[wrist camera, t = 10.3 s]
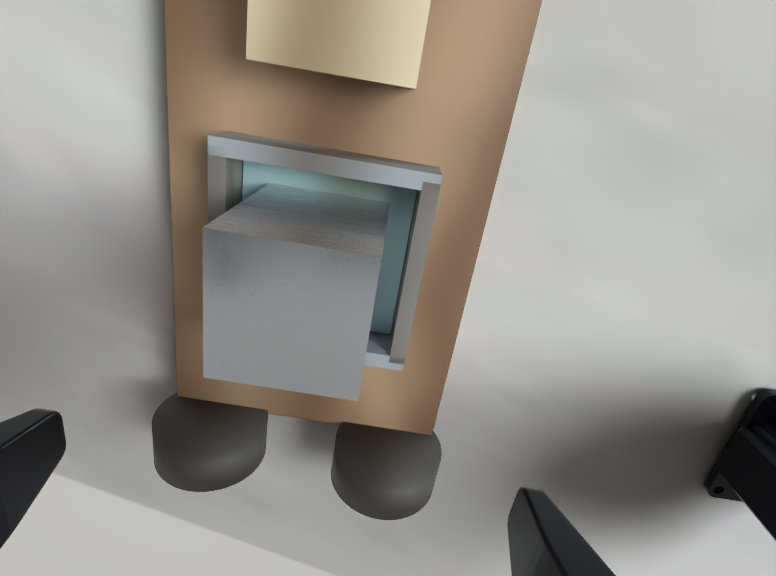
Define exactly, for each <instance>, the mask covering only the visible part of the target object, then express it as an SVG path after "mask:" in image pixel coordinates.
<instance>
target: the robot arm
mask: <svg viewBox="0 0 776 576" xmlns="http://www.w3.org/2000/svg"><path fill="white" fill-rule="evenodd" d="M769 400H770V401H769ZM768 401H769V402H768ZM65 449H66V440H65V433H64V427H63V420H62V416H61V415H60V413H59V412H57V411H52V410H45V409H33V410H30V411H28V412H25V413H23V414H21V415H18V416H16V417H13V418H11V419H8V420H6V421H3V422H1V423H0V548H1V547H2V546H3V544H4V543H5V542H6V540H7V539H8V538H9V537H10V535H11V534H12V532H13V531H14V530H15V528H16V527H17V525H18V524H19V522H20V521H21V519H22V518H23V516H24V515H25V513H26V512H27V510H28V509H29V507H30V506H31V504H32V502H33V501H34V499H35V498H36V496H37V495H38V493H39V492H40V490H41V489H42V487H43V486H44V484H45V483H46V481H47V480H48V478H49V477H50V475H51V474H52V472H53V471H54V469H55V468H56V466H57V464H58V463H59V461H60V460H61V458H62V457H63V454H64V452H65ZM704 488H705V490H706V491H707V492H708V494H709V495H710V496H712V497H716V498H723V499H729V500H736V501H742V502H744V503H745V504H746V506H747V507H748V508H749V509H750V511H751V512H752V513H753V514H754V515H755V517H756V518H757V519H758V520H759V521H760V523H761V524H762V525H763V526H764V528H765V529H766V530H767V531H768V532H769V534H770V535H771V536H772V537H773V539H774V540H776V391H775V390H765V391H762V392H760V393H759V394H757V396H756V397H755V398H754V400H753V402H752V403H751V405H750V407H749V408H748V410H747V412H746V414H745V415H744V417H743V419H742V420H741V422H740V424H739V425H738V427H737V429H736V430H735V432H734V434H733V435H732V437H731V439H730V440H729V442H728V444H727V445H726V447H725V449H724V450H723V452H722V454H721V456H720V457H719V459H718V461H717V462H716V464H715V466H714V467H713V469H712V471H711V472H710V474H709V476H708V477H707V479H706V481H705V482H704ZM508 538H509V549H510V560H511V571H512V576H616V575H615V574H614V573H613V572H612V571H611V570H610V568H609V567H608V566H607V565H606V564H605V563H604V561H603V560H602V559H601V558H600V557H599V556H598V554H597V553H596V552H595V551H594V550H593V549H592V547H591V546H590V545H589V544H588V543H587V542H586V540H585V539H584V538H583V537H582V536H581V535H580V533H579V532H578V531H577V530H576V529H575V527H574V526H573V525H572V524H571V523H570V522H569V520H568V519H567V518H566V517H565V516H564V515H563V513H562V512H561V511H560V510H559V509H558V508H557V506H556V505H555V504H554V503H553V502H552V501H551V499H550V498H549V497H548V496H547V495H546V494H545V493H544V492H543V491H542V490H540V489H536V488H530V487H521V488H520V489H519V490H518V492H517V495H516V498H515V500H514V503H513V506H512V508H511V511H510V514H509V517H508Z"/></svg>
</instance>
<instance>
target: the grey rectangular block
mask: <svg viewBox="0 0 776 576" xmlns="http://www.w3.org/2000/svg"><path fill="white" fill-rule="evenodd" d="M389 207H390V203H387V202H381V201H375V200H369V199H363V198H357V197H351V196H345V195H339V194H333V193H327V192H321V191H315V190H309V189H303V188H297V187H291V186H285V185H279V184H273V183H269V184H267V185H266V186H264V187H263V188H261V189H260V190H258V191H257V192H255V193H254V194H252V195H251V196H249V197H248V198H246V199H245V200H243V201H242V202H240V203H239V204H237V205H236V206H234V207H233V208H231V209H230V210H228V211H227V212H225V213H224V214H222V215H221V216H219V217H218V218H216V219H215V220H213V221H211V222H210V223H208V224H207V225H205V226H204V227H202V240H203V378H210V379H216V380H223V381H229V382H236V383H242V384H249V385H255V386H262V387H268V388H275V389H281V390H288V391H294V392H301V393H307V394H314V395H320V396H326V397H333V398H339V399H346V400H352V401H358V400H359V394H360V388H361V382H362V375H363V369H364V363H365V357H366V351H367V345H368V339H369V332H370V326H371V320H372V314H373V308H374V302H375V296H376V289H377V283H378V277H379V271H380V265H381V259H382V252H383V246H384V239H385V233H386V226H387V220H388V213H389Z"/></svg>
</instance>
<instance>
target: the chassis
mask: <svg viewBox="0 0 776 576" xmlns="http://www.w3.org/2000/svg"><path fill="white" fill-rule="evenodd" d="M541 3H542V0H164V12H165V43H166V73H167V104H168V134H169V165H170V195H171V226H172V256H173V287H174V317H175V348H176V378H177V393H175V394H173V395H172V396H170V397H169V398H167V399H166V400H165V401H164V402H163V403H162V404H161V405H160V406H159V407H158V409H157V410H156V412H155V414H154V416H153V420H152V434H153V450H154V463H155V468H156V470H157V472H158V474H159V475H160V477H161V478H162V479H163V480H164V481H166V482H167V483H168V484H170V485H172V486H174V487H176V488H179V489H182V490H187V491H194V492H207V491H214V490H219V489H223V488H226V487H229V486H232V485H234V484H236V483H238V482H240V481H242V480H243V479H245V478H246V477H248V476H249V475H250V474H251V473H253V472H254V471H255V470H256V468H257V467H258V466H259V465H260V463H261V461H262V459H263V457H264V454H265V449H266V436H267V421H268V413H269V414H276V415H282V416H289V417H295V418H302V419H308V420H314V421H321V422H327V423H334V424H340V426H339V428H338V431H337V434H336V441H335V448H334V455H333V462H332V469H331V479H332V483H333V486H334V488H335V490H336V492H337V494H338V495H339V497H340V498H341V499H342V500H343V501H344V502H345V503H346V504H347V505H348V506H349V507H351V508H352V509H354V510H355V511H357V512H359V513H361V514H363V515H365V516H368V517H371V518H376V519H382V520H396V519H402V518H405V517H408V516H411V515H413V514H415V513H416V512H418V511H419V510H421V509H422V508H423V507H424V506H425V505H426V503H427V502H428V500H429V498H430V496H431V493H432V490H433V486H434V482H435V479H436V475H437V471H438V468H439V464H440V460H441V446H440V443H439V440H438V438H437V436H436V435H435V433H434V432H433V428H434V424H435V420H436V416H437V412H438V408H439V404H440V400H441V396H442V393H443V389H444V385H445V381H446V377H447V373H448V369H449V365H450V361H451V357H452V353H453V349H454V345H455V341H456V337H457V334H458V330H459V326H460V322H461V318H462V314H463V310H464V306H465V302H466V298H467V294H468V290H469V286H470V282H471V278H472V275H473V271H474V267H475V263H476V259H477V255H478V251H479V247H480V243H481V239H482V235H483V231H484V227H485V223H486V219H487V216H488V212H489V208H490V204H491V200H492V196H493V192H494V188H495V184H496V180H497V176H498V172H499V168H500V164H501V160H502V157H503V153H504V149H505V145H506V141H507V137H508V133H509V129H510V125H511V121H512V117H513V113H514V109H515V105H516V101H517V98H518V94H519V90H520V86H521V82H522V78H523V74H524V70H525V66H526V62H527V58H528V54H529V50H530V46H531V42H532V38H533V35H534V31H535V27H536V23H537V19H538V15H539V11H540V7H541ZM269 183H273V184H279V185H285V186H291V187H297V188H303V189H309V190H315V191H321V192H327V193H333V194H339V195H345V196H351V197H357V198H363V199H369V200H375V201H381V202H387V203H390V207H389V213H388V220H387V226H386V233H385V239H384V246H383V252H382V259H381V265H380V271H379V277H378V283H377V289H376V296H375V302H374V308H373V314H372V320H371V326H370V332H369V339H368V345H367V351H366V357H365V363H364V369H363V375H362V382H361V388H360V394H359V400H358V401H352V400H346V399H339V398H333V397H326V396H320V395H314V394H307V393H301V392H294V391H288V390H281V389H275V388H268V387H262V386H255V385H249V384H242V383H236V382H229V381H223V380H216V379H210V378H203V240H202V227H204V226H205V225H207V224H208V223H210V222H211V221H213V220H215V219H216V218H218V217H219V216H221V215H222V214H224V213H225V212H227V211H228V210H230V209H231V208H233V207H234V206H236V205H237V204H239V203H240V202H242V201H243V200H245V199H246V198H248V197H249V196H251V195H252V194H254V193H255V192H257V191H258V190H260V189H261V188H263V187H264V186H266V185H267V184H269Z"/></svg>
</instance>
